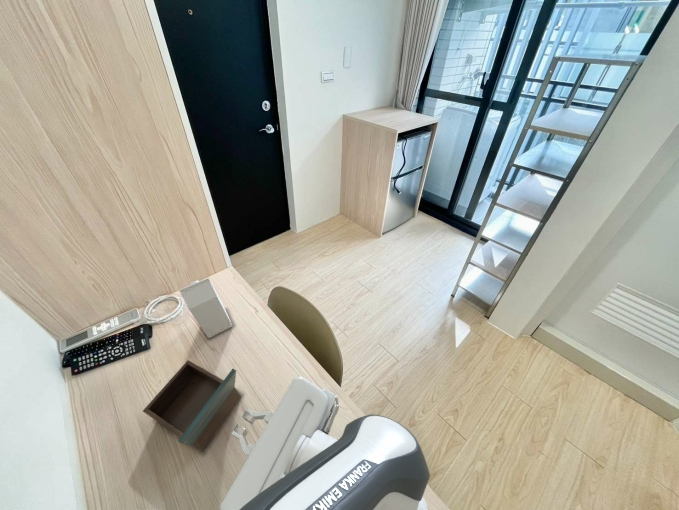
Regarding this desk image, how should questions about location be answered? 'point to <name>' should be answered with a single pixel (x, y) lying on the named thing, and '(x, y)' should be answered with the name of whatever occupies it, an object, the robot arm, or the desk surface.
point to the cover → (209, 410)
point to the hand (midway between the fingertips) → (240, 421)
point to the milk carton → (206, 307)
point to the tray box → (190, 402)
